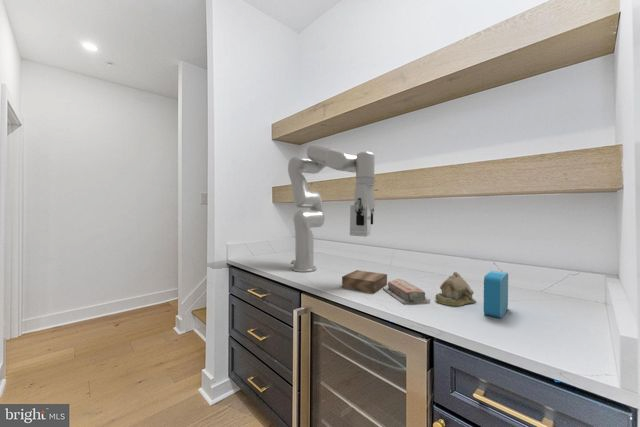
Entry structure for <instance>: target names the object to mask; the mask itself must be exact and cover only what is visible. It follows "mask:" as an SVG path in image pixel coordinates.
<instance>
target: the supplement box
mask: <svg viewBox="0 0 640 427" xmlns="http://www.w3.org/2000/svg"><path fill="white" fill-rule="evenodd" d="M359 208H363V206H362V205H359ZM349 210H350V212H349V213H350V214H349V215H350V217H349V236H351V237H363V238H365V237H369V236H371V230H372V229H371V225H372V224H371V210H370V209H369V206H367V207H366V209H365V210H364V213H363V215H364V225H356V211H355V208H354V204H351V205H350V209H349ZM361 211H362V210H361Z"/></svg>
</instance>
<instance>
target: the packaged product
mask: <svg viewBox="0 0 640 427" xmlns="http://www.w3.org/2000/svg"><path fill="white" fill-rule="evenodd" d="M382 289H383V291H385V292H386V293H388V294H389V295H390V296H392V297H393V299H396V300H397V301H398V302H400V303H401V304H403V305H404V306H405V305H406V304H407V305H420V304H430V303H431V299H429V298H428V297H427V296H426V292H425V291H424V290H422V289H421V288H419V287H417V286H415V285H413V284H412V283H410V282H408V281H406V280H404V279H401V278H397V279H393V280H390V281H387V286H385V287H383V288H382Z"/></svg>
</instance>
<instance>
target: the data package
mask: <svg viewBox="0 0 640 427" xmlns="http://www.w3.org/2000/svg"><path fill="white" fill-rule="evenodd" d="M508 308H509V273H508V272H506V271H498V270H490V271H489V272H488V273H486V275H484V278H483V314H484V315H486V316H491V317H494V318H497V319H498V318H499V319H502V318H503V316H504V315H505V314H506V311H508Z"/></svg>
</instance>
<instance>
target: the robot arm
mask: <svg viewBox="0 0 640 427" xmlns="http://www.w3.org/2000/svg"><path fill="white" fill-rule="evenodd" d="M326 167H327V168H330V169H333V170H336V171H339V172H346V173H354V174H355V190H354V198H353V205H354V208H355V211H356V225H364V215H363V213H364V210H365V209H366V207H367V206H369V209H370V210H371V225H373V224H374V212H375V191H374V190H375V189H374V187H375V154H374V153H373V152H371V151H360V152H358V153H357V154H352V153H351V154H350V153H345V152H341V151H337V150H336V149H335V148H333V147H331V146H327V145H324V144H323V145H322V144H317V143H314V144H313V143H312V144H310V145H309V146H308V147H307V149H306V156H303V155H294V156H292V157H291V158H290V159H289V161H288V165H287V172H288V177H289V180H290V183H291V189H292V198H293V202H294V206H295V207H296V208H300V210H297V211H296V212H295V213H294V214H293V225H294V231H295V234H294V235H295V236H294V237H295V242H294V243H295V244H294V245H295V259H293V260H291V262H290V265H293V266H292V270H293V271H294V272H297V273H299V272H300V273H310V272H314V271H316V270H317V266H315V265H314V234H313V231H312V230H311V228H321V227H322V226H323V225H324V223H325V211H324V205H323V199H322V195H321V194H320V193H319V192H318V191H317V190H316V191H315V190H309V187H308V181H307V179H306V177H305V176H304V175H303V174H305V173H306V174H310V175H311V174H313V175H315V174H318V173H320V172H321V171H322V170H324V168H326ZM359 205H362V206H363V208H359ZM361 210H362V211H361Z"/></svg>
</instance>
